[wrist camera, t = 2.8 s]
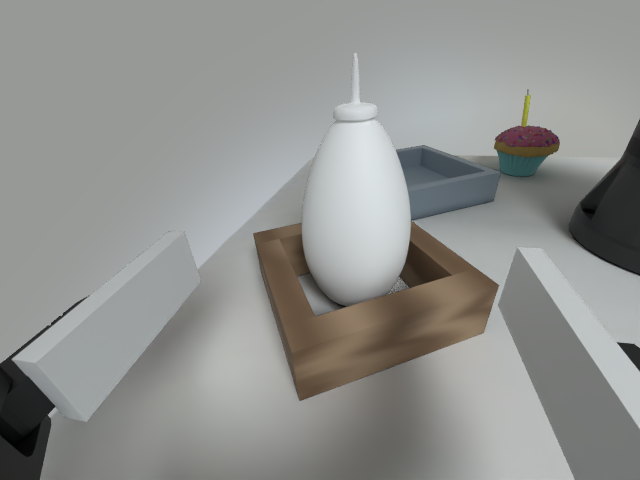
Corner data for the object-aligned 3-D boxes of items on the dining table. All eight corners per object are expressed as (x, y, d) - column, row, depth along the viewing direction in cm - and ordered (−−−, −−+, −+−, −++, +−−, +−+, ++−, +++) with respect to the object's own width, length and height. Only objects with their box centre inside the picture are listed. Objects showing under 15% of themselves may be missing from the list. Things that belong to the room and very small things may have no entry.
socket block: (386, 241, 33) (388, 204, 31) (483, 332, 22) (499, 285, 20) (261, 272, 30) (253, 233, 27) (299, 401, 18) (291, 352, 16)
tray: (421, 168, 53) (424, 145, 51) (493, 201, 40) (501, 172, 38) (338, 183, 49) (337, 159, 47) (388, 225, 36) (390, 195, 34)
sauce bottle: (415, 287, 27) (448, 46, 17) (378, 350, 21) (395, 48, 12) (339, 262, 31) (332, 54, 21) (291, 309, 25) (254, 59, 16)
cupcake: (476, 168, 51) (493, 91, 45) (514, 161, 54) (535, 86, 47) (520, 184, 44) (548, 95, 38) (562, 175, 47) (594, 89, 40)
